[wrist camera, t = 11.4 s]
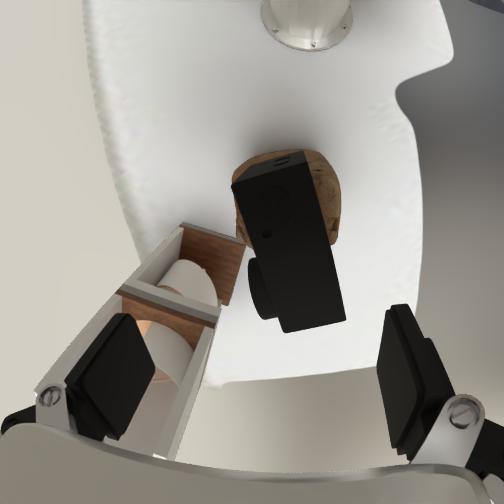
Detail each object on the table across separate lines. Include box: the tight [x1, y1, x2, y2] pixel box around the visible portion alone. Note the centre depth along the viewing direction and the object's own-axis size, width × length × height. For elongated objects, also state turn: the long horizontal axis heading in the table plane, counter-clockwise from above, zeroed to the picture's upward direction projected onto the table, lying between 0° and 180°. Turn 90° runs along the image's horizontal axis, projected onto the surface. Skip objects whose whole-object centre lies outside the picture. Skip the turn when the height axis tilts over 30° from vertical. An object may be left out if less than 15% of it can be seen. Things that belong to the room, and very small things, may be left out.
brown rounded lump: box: [232, 150, 341, 249], centre depth 32 cm, size 11×8×20 cm
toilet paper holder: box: [34, 222, 246, 461], centre depth 33 cm, size 11×11×35 cm
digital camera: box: [231, 150, 346, 333], centre depth 20 cm, size 10×5×7 cm, turn 19°
